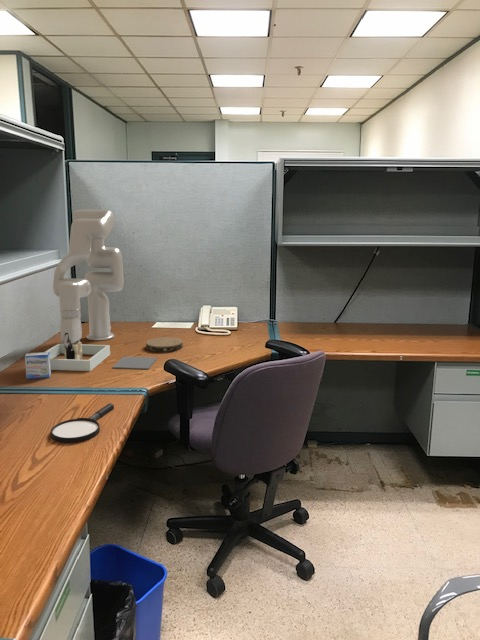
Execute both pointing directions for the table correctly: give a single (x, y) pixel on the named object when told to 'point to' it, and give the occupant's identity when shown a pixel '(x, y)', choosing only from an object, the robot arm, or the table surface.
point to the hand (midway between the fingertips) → (73, 357)
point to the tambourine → (164, 344)
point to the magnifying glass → (79, 427)
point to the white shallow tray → (78, 365)
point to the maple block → (76, 350)
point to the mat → (135, 363)
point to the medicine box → (37, 365)
